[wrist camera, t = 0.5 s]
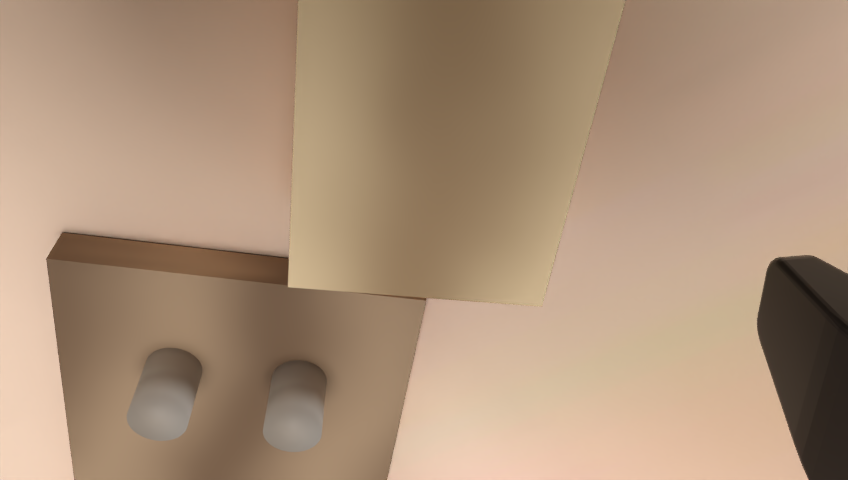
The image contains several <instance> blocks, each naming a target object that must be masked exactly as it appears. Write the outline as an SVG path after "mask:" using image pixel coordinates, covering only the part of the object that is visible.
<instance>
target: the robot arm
mask: <svg viewBox="0 0 848 480" xmlns="http://www.w3.org/2000/svg"><path fill="white" fill-rule="evenodd" d="M757 329H758V335H759V339H760V343H761V346H762V349H763V352H764V355H765V358H766V361H767V364H768V367H769V370H770V373H771V376H772V379H773V382H774V385H775V388H776V391H777V394H778V397H779V400H780V403H781V406H782V409H783V412H784V415H785V418H786V421H787V424H788V427H789V430H790V433H791V436H792V439H793V442H794V445H795V447H796V450H797V453H798V456H799V458H800V461H801V463H802V466H803V468H804V470H805V473H806V475H807V477H808V479H809V480H848V274H847V273H845V272H843V271H841V270H840V269H838V268H836V267H834V266H832V265H830V264H828V263H826V262H825V261H823V260H821V259H819V258H817V257H815V256H811V255H803V256H791V257H779V258H776V259H774V260H773V261H771V263H770V264H769V266H768V269H767V272H766V277H765V282H764V287H763V292H762V297H761V302H760V307H759V311H758V317H757Z"/></svg>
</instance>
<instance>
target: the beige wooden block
mask: <svg viewBox="0 0 848 480" xmlns="http://www.w3.org/2000/svg"><path fill="white" fill-rule="evenodd" d="M625 1H626V0H298V17H297V45H296V73H295V101H294V129H293V157H292V185H291V213H290V241H289V270H288V287H291V288H304V289H317V290H330V291H343V292H356V293H369V294H383V295H396V296H409V297H422V298H435V299H448V300H461V301H474V302H487V303H500V304H513V305H526V306H539V307H542V304H543V301H544V297H545V293H546V290H547V286H548V282H549V279H550V275H551V271H552V268H553V264H554V261H555V257H556V253H557V250H558V246H559V242H560V239H561V235H562V231H563V228H564V224H565V220H566V217H567V213H568V209H569V206H570V202H571V198H572V195H573V191H574V187H575V184H576V180H577V177H578V173H579V169H580V166H581V162H582V158H583V155H584V151H585V147H586V144H587V140H588V136H589V133H590V129H591V125H592V122H593V118H594V114H595V111H596V107H597V104H598V100H599V96H600V93H601V89H602V85H603V82H604V78H605V74H606V71H607V67H608V63H609V60H610V56H611V52H612V49H613V45H614V41H615V38H616V34H617V30H618V27H619V23H620V20H621V16H622V12H623V9H624V5H625Z"/></svg>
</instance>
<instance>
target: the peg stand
mask: <svg viewBox="0 0 848 480" xmlns="http://www.w3.org/2000/svg"><path fill="white" fill-rule="evenodd" d="M46 260H47V268H48V276H49V283H50V291H51V299H52V307H53V315H54V323H55V331H56V339H57V347H58V355H59V362H60V370H61V378H62V386H63V394H64V402H65V410H66V418H67V426H68V433H69V441H70V449H71V457H72V465H73V473H74V480H387V477H388V473H389V468H390V464H391V459H392V454H393V450H394V445H395V441H396V436H397V432H398V427H399V423H400V418H401V414H402V409H403V405H404V400H405V395H406V391H407V386H408V382H409V377H410V373H411V368H412V364H413V359H414V355H415V350H416V345H417V341H418V336H419V332H420V327H421V323H422V318H423V314H424V309H425V305H426V298H422V297H409V296H396V295H383V294H369V293H356V292H343V291H330V290H317V289H304V288H291V287H288V270H289V259H288V258H279V257H270V256H262V255H253V254H244V253H235V252H227V251H218V250H209V249H201V248H192V247H183V246H174V245H166V244H157V243H148V242H140V241H131V240H122V239H113V238H105V237H96V236H87V235H79V234H70V233H62V234H61V236H60V237H59V239H58V240H57V242H56V244H55V245H54V247H53V249H52V250H51V252H50V254H49V255H48V257H47V259H46Z"/></svg>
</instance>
